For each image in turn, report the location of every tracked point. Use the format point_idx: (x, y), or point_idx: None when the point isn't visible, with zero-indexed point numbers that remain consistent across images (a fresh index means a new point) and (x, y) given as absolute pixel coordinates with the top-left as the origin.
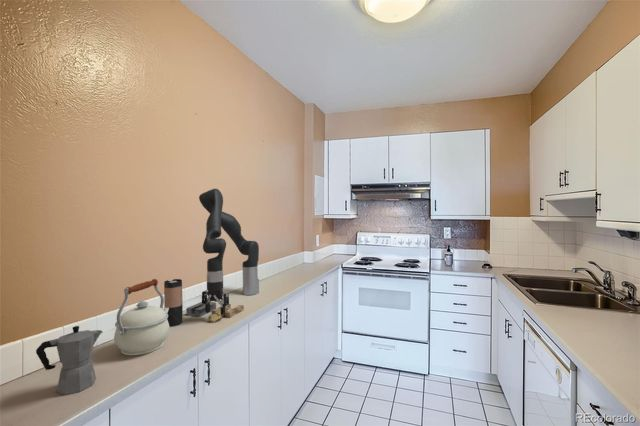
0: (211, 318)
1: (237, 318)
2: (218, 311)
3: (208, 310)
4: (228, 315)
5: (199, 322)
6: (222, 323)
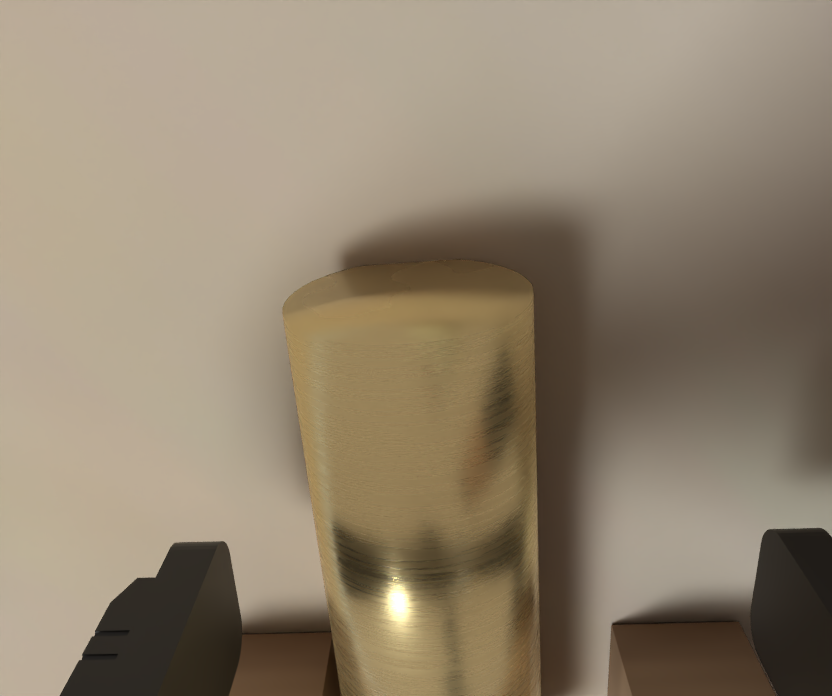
0: (402, 303)
1: (20, 659)
2: (442, 679)
3: (787, 619)
4: None
5: (765, 145)
6: (72, 309)
